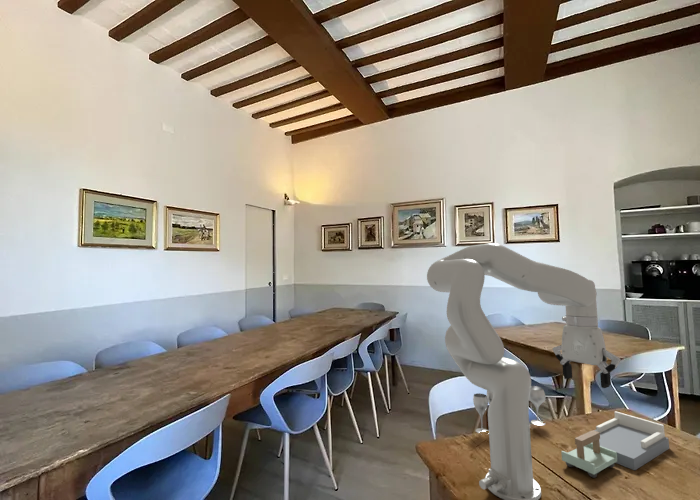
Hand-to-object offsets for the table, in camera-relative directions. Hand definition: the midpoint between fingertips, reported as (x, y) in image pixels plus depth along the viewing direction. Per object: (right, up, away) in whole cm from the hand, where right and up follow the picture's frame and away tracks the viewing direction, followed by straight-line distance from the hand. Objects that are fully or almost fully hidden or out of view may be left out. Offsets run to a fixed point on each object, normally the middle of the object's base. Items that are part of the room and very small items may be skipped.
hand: (586, 382), depth 97 cm
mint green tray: (-2, -22, -4) cm, 22 cm away
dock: (+15, -22, +5) cm, 27 cm away
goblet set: (-11, -24, +21) cm, 34 cm away
